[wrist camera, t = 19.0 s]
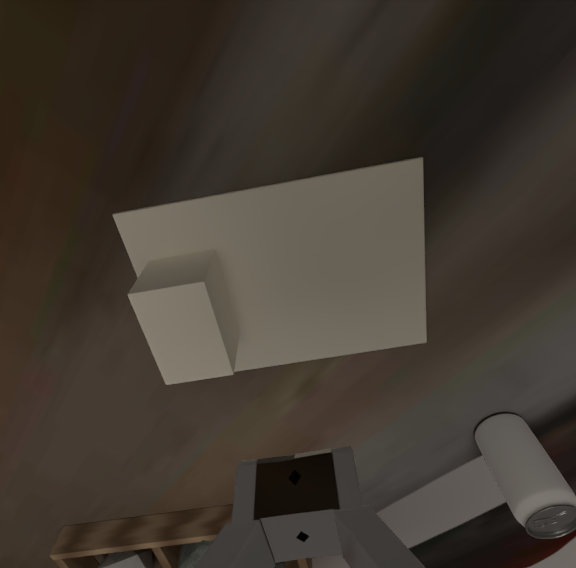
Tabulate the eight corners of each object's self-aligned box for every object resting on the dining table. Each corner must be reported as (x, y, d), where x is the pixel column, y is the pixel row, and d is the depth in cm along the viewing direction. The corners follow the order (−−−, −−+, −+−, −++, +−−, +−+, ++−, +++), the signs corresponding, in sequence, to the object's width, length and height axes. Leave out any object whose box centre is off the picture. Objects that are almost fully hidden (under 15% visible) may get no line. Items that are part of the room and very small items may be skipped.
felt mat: (421, 156, 36) (423, 157, 35) (425, 340, 45) (426, 342, 45) (113, 213, 37) (112, 214, 37) (179, 377, 47) (179, 380, 47)
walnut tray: (294, 496, 58) (295, 524, 54) (311, 557, 65) (313, 586, 62) (63, 526, 60) (49, 555, 57) (105, 582, 68) (95, 610, 64)
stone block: (209, 506, 58) (204, 543, 54) (290, 534, 62) (292, 571, 58) (182, 536, 62) (175, 573, 57) (261, 560, 66) (260, 597, 61)
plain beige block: (127, 294, 34) (149, 260, 39) (166, 384, 38) (180, 343, 44) (204, 281, 33) (215, 249, 39) (233, 374, 38) (239, 333, 44)
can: (528, 438, 53) (590, 531, 42) (478, 452, 54) (526, 547, 43) (520, 404, 50) (585, 496, 39) (468, 420, 51) (516, 514, 41)
